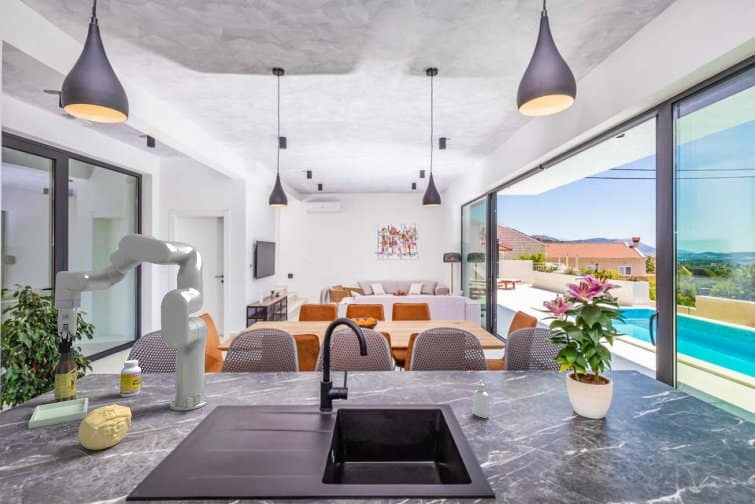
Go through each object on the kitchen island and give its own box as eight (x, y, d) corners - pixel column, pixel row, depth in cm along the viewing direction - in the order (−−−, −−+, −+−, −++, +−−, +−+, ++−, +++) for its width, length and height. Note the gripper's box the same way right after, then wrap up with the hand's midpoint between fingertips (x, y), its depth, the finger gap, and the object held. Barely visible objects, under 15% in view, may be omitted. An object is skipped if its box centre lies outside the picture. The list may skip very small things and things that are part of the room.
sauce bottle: (74, 402, 138) (76, 347, 139) (52, 405, 135) (54, 350, 135) (76, 397, 143) (78, 344, 144) (55, 400, 140) (57, 346, 141)
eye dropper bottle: (484, 412, 130) (484, 377, 131) (490, 419, 125) (490, 382, 125) (472, 412, 130) (472, 377, 130) (477, 419, 124) (477, 382, 125)
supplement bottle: (132, 397, 143) (133, 363, 144) (115, 397, 143) (116, 363, 144) (144, 391, 150) (144, 359, 150) (127, 391, 150) (128, 359, 150)
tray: (86, 418, 124) (86, 411, 124) (28, 429, 115) (28, 422, 116) (88, 403, 137) (88, 397, 137) (36, 412, 128) (36, 406, 128)
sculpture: (89, 459, 98) (90, 417, 99) (70, 447, 105) (71, 408, 105) (136, 441, 108) (137, 403, 108) (116, 431, 114) (117, 395, 115)
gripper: (79, 306, 135) (76, 353, 135) (81, 301, 149) (79, 344, 149) (51, 307, 131) (49, 356, 130) (57, 302, 145) (55, 346, 144)
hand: (65, 350), depth 140 cm, fingers open, 9 cm apart
